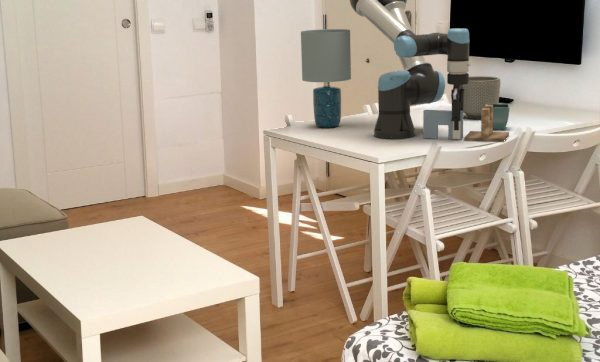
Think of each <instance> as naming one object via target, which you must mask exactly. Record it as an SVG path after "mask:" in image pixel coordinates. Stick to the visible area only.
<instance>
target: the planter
mask: <svg viewBox="0 0 600 362" xmlns="http://www.w3.org/2000/svg"><path fill="white" fill-rule="evenodd" d="M463 89H464V90H465V91H464V108H463V114H465V115H466V117H467V118H468V119H471V120H472V119H473V120H481V110H482V109H483V108H485V106H486V104H499V101H500V91H501V78H500V77H497V76H489V75H472V76H471V75H469V83H468V84H465V85H463Z"/></svg>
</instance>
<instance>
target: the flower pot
mask: <svg viewBox="0 0 600 362" xmlns="http://www.w3.org/2000/svg"><path fill="white" fill-rule="evenodd" d="M486 105H493V131H494V130H496V131H497V130H500V131H501V130H505V129H506V127H507V125H508V122H509V116H510V108H511V107H510V104H509V103H498V104H486Z"/></svg>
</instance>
